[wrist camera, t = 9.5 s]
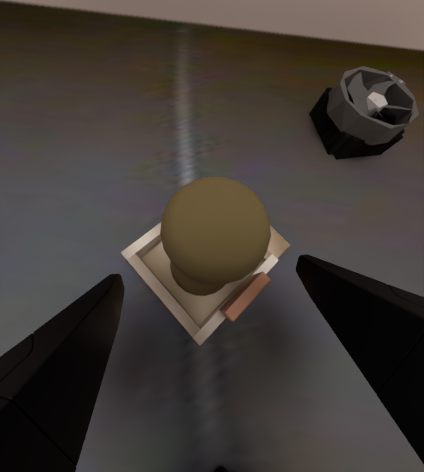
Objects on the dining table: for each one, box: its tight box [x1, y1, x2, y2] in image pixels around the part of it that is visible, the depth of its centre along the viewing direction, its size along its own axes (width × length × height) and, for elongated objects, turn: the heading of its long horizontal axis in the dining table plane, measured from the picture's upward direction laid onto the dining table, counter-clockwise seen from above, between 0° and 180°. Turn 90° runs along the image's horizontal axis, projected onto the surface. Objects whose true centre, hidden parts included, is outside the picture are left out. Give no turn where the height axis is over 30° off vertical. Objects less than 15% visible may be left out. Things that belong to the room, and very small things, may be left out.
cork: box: [160, 176, 271, 296], centre depth 13 cm, size 6×6×11 cm
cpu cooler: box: [310, 66, 419, 159], centre depth 25 cm, size 10×6×10 cm
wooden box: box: [121, 223, 290, 346], centre depth 17 cm, size 13×10×6 cm
